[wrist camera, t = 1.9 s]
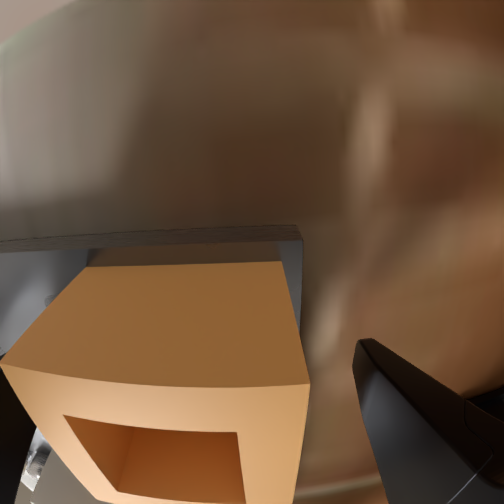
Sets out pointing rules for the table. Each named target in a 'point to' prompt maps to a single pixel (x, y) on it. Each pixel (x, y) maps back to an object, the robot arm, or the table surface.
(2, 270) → the base plate
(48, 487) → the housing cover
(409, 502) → the robot arm
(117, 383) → the orange hollow square block
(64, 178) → the table surface
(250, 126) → the table surface
